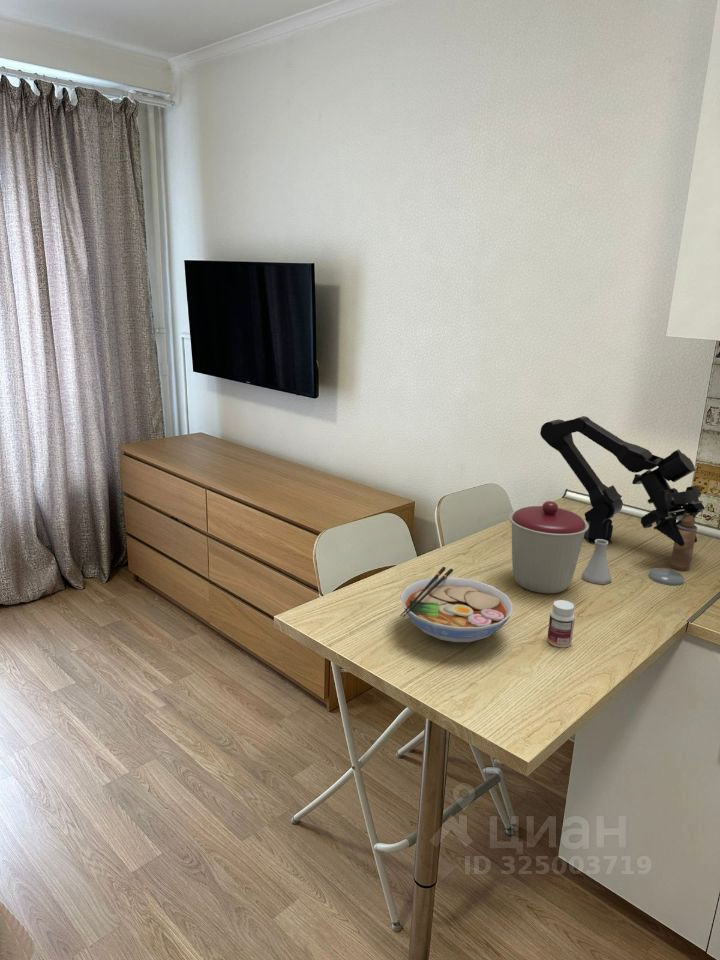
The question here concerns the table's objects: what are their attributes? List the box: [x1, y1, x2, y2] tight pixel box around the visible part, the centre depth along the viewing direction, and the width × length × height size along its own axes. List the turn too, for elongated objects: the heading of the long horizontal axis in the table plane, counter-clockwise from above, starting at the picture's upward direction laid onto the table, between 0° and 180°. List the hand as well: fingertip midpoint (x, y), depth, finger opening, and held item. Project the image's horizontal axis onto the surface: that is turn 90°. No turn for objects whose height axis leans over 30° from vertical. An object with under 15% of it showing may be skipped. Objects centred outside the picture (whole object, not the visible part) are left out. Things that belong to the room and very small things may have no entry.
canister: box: [508, 500, 589, 594], centre depth 158 cm, size 18×18×21 cm
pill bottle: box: [546, 599, 576, 648], centre depth 134 cm, size 5×5×8 cm
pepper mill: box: [669, 515, 698, 572], centre depth 171 cm, size 5×5×14 cm
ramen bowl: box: [400, 566, 514, 643], centre depth 136 cm, size 25×23×8 cm
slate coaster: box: [648, 567, 685, 586], centre depth 166 cm, size 8×8×1 cm
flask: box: [581, 539, 612, 585], centre depth 164 cm, size 7×7×10 cm
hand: (689, 543), depth 170 cm, fingers closed on pepper mill, 5 cm apart
